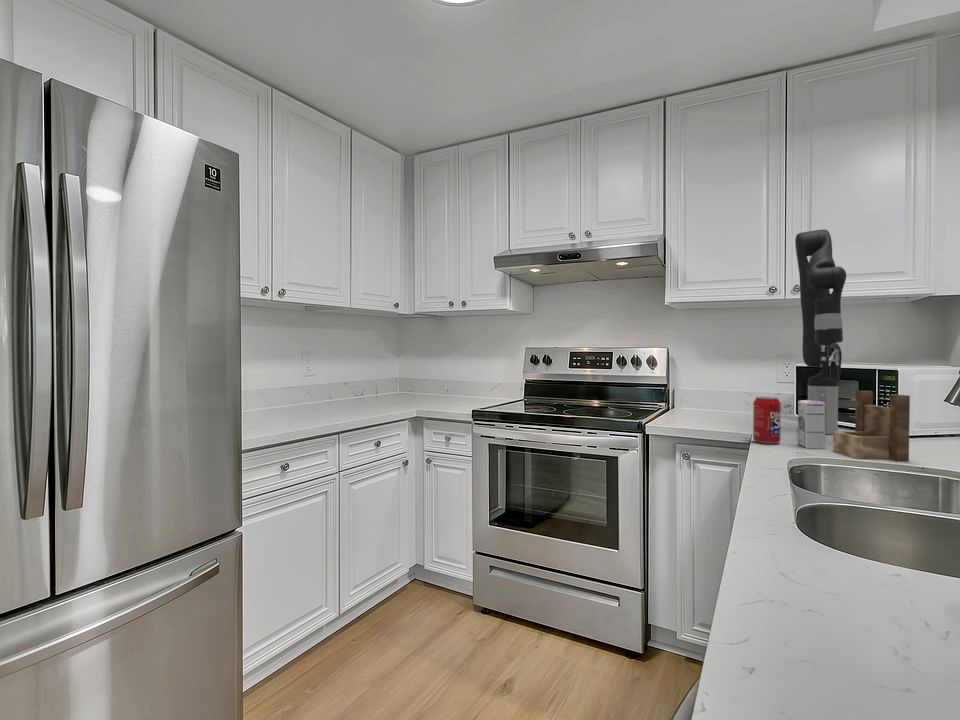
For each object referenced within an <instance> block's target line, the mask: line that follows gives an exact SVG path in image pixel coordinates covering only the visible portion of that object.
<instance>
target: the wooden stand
mask: <svg viewBox="0 0 960 720" xmlns="http://www.w3.org/2000/svg"><path fill="white" fill-rule="evenodd" d="M910 396H911V395H907V394H889V407H887V406H883V405H882V406H881V405H875V404H874V391H871V390H855V423H854V424H855V425H854V426H855V428H854V430H855V431H852V430H851V431H849V430H848V431H845V430H844V431H833V434H832V437H833V438H832V439H833V440H832V452H834V451H835V452H834V453H837V452H838V454H840V453H841V455H844V456H847V457H850V458H853V457H854V459H856V458H857V459H858V460H859V459H860V460H861V459H862V460H863V459H864V460H869V459H870V460H873V459H874V460H890V459H891V461H894V460H895V462H897V461H909V462H910V415H911V413H910V407H911V406H910V405H911V404H910V402H911V397H910Z"/></svg>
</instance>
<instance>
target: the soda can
mask: <svg viewBox="0 0 960 720" xmlns="http://www.w3.org/2000/svg"><path fill="white" fill-rule="evenodd" d="M752 403H753V405H752V407H753V409H752V417H753V418H752V419H753V421H752V423H753V424H752V440H753V441H755V442H756V443H758V444H763V445H776V444H778V443H780V442H781V433H782V432H781V431H782V430H781V427H782V426H781V425H782V423H781V422H782V421H781V417H782V415H781V413H782V407H781V405H782V403H781V401H780V400H779V397H776V396H755V399H754V401H753V402H752Z"/></svg>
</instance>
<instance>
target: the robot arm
mask: <svg viewBox="0 0 960 720" xmlns="http://www.w3.org/2000/svg"><path fill="white" fill-rule="evenodd" d="M796 234H797V235H796V236H795V241H794V243H795V253H796V260H797V266H798V275H799V293H800V294H799V296H800V307H801V316H802V317H801V318H802V358H803V362H804V364H805V365H806V367H810V368H821V370H820V372H818V373H817V374H815V375H813V376H810V377H808V379H807V400H815V401H820V402H824V403H825V435H833V431H838V430H839V429H838V426H839V425H838V423H839V418H838V417H839V382H840V379H841V371H842V370H841V369H842V357H843V356H842V350H841V349H842V348H841V346H840V344H838V343H843V341H844V334H843V333H844V332H843V319H842V312H841V311H842V310H841V309H842V306H841V300H842V295H843V294H842V293H843V289H844V286H845V284H846V280H847V272H846V270H845V269H844V267H842V266H836V262H835V261H834V260H835V259H834V258H833V242H832V236H831V234H830V231H829V230H827V229H816V230H815V229H814V230H810V231H808V230H807V231H804V232H799V233H796ZM808 257H810V258H808ZM808 259H809V260H808ZM831 290H832V291H831Z"/></svg>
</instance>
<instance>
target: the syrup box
mask: <svg viewBox="0 0 960 720" xmlns="http://www.w3.org/2000/svg"><path fill="white" fill-rule="evenodd" d="M797 409H798V410H797V411H798V413H797V417H798V419H797V421H798V423H797V426H798V427H797V433H798V434H797V436H798V439H797V443H798V446H800V447H803V448H804V449H812V450H813V449H815V450H817V449H818V450H820V449H821V450H823V449H826V434H825V403H824V402H820V401H815V400H808V399H805V400H803V399H802V400H798V401H797Z"/></svg>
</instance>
